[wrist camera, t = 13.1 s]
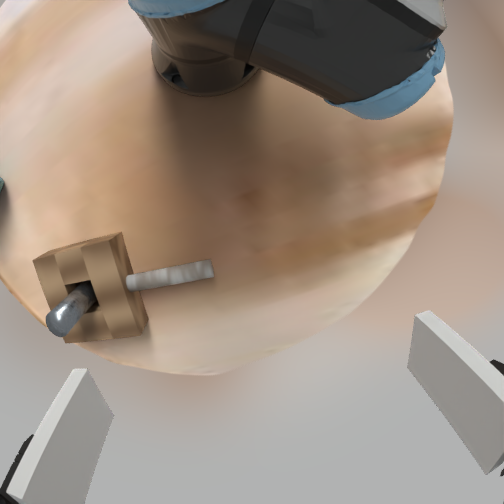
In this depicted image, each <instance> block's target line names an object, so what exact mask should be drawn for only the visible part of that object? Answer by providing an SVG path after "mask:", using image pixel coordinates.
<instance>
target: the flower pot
mask: <svg viewBox="0 0 504 504" xmlns="http://www.w3.org/2000/svg"><path fill="white" fill-rule="evenodd" d="M3 185H4V181H3V179H2V178H1V177H0V192H1V189H2V187H3Z"/></svg>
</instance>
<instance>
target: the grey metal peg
mask: <svg viewBox="0 0 504 504" xmlns="http://www.w3.org/2000/svg"><path fill="white" fill-rule="evenodd" d="M96 300H97V297H96V294H95V291H94V289H93V286H92V283H91V280H87V281H83V282H82V283H81V284H80V285H79V286H78V287H76V288H75V289H74V290H73V291H72V292H71V293H70V294H69V295H68V296H67V297H65V298H64V299H63V300H62V301H61V302H60V303H59V304H58V305H57V306H56V307H55V308H54V309H53V310H52V311H50V312H49V313H48V314H47V316H46V324H47V327H48V328H49V330H50V331H51V332H52V333H53V334H54V335H56V336H58V337H65V336H66V335H67V334H68V333H69V331H70V330H71V329H72V328H73V327H74V325H75V324H76V323H77V322H78V321H79V320H80V318H81V317H82V316H83V315H84V314H85V313H86V312H87V310H88V309H89V308H90V307H91V306H92V305H93V304H94V302H95V301H96Z"/></svg>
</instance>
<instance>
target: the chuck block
mask: <svg viewBox="0 0 504 504" xmlns="http://www.w3.org/2000/svg"><path fill="white" fill-rule="evenodd" d="M33 263H34V266H35V269H36V272H37V275H38V278H39V281H40V284H41V286H42V289H43V292H44V294H45V297H46V300H47V302H48V305H49V307H50V310H51V311H52V310H53V309H54V308H55V307H56V306H57V305H58V304H59V303H60V302H61V301H62V300H63V299H64V298H65V297H67V296H68V295H69V294H70V293H71V292H72V291H73V290H74V289H75V288H76V287H78V286H79V285H80V284H81V283H82V281H87V280H91V283H92V286H93V289H94V291H95V294H96V297H97V300H96V301H95V302H94V304H93V305H92V306H91V307H90V308H89V309H88V310H87V312H86V313H85V314H84V315H83V316H82V317H81V318H80V320H79V321H78V322H77V323H76V324H75V325H74V327H73V328H72V329H71V330H70V331H69V333H68V334H67V335H66V336H65V337H63V339H64V341H65V343H76V342H87V341H97V340H107V339H116V338H124V337H132V336H140V335H141V334H142V331H143V329H144V327H145V325H146V323H147V321H148V316H147V313H146V310H145V307H144V304H143V301H142V298H141V295H140V292H139V291H141V290H146V289H152V288H157V287H163V286H168V285H174V284H179V283H184V282H190V281H195V280H200V279H206V278H211V277H214V271H213V265H212V262H211V259H208V260H203V261H198V262H193V263H188V264H183V265H178V266H173V267H168V268H163V269H157V270H152V271H147V272H142V273H137V274H133V270H132V267H131V264H130V260H129V257H128V253H127V250H126V246H125V243H124V239H123V235H122V232H119V233H115V234H111V235H107V236H103V237H99V238H95V239H91V240H87V241H83V242H80V243H76V244H72V245H69V246H65V247H61V248H58V249H54V250H51V251H48V252H46V253H45V254H43V255H41V256H39V257H38V258H36V259H34V260H33Z"/></svg>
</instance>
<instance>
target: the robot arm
mask: <svg viewBox="0 0 504 504" xmlns="http://www.w3.org/2000/svg"><path fill="white" fill-rule="evenodd" d="M443 1H444V0H128V2H129V5H130V7H131V8H132V9H133V10H134V11H135V12H136V13H137V14H138V16H139V17H140V19H141V20H142V22H143V24H144V25H145V27H146V28H147V30H148V31H149V33H150V34H151V36H152V37H153V41H152V48H151V52H152V59H153V63H154V65H155V68H156V70H157V71H158V73H159V74H160V75H161V77H162V78H163V79H164V80H165V82H167V83H168V84H169V85H170V86H171V87H173V88H174V89H176V90H178V91H180V92H183V93H185V94H189V95H193V96H216V95H221V94H225V93H228V92H230V91H233V90H235V89H237V88H238V87H240V86H242V85H243V84H245V83H246V82H247V81H248V80H249V79H250V78H251V77H252V76H253V75H254V74H255V73H256V71H257V70H258V68H259V69H262V70H264V71H267V72H269V73H271V74H274V75H276V76H278V77H280V78H283V79H285V80H287V81H289V82H291V83H294V84H296V85H298V86H300V87H302V88H304V89H306V90H308V91H310V92H312V93H314V94H316V95H318V96H320V97H322V98H324V101H326V102H327V103H328V104H330V105H332V106H336V107H340V108H343V109H345V110H347V111H349V112H351V113H353V114H354V115H356V116H358V117H360V118H363V119H371V120H382V119H386V118H390V117H392V116H395V115H397V114H399V113H401V112H403V111H405V110H406V109H408V108H409V107H410V106H412V105H413V104H415V103H416V102H417V101H418V100H419V99H420V98H422V97H423V96H424V95H425V94H426V92H427V91H428V90H429V89H430V88H431V86H432V85H433V84H434V82H435V78H434V76H435V75H436V74H438V73H440V72H441V70H442V68H443V65H444V60H445V51H444V47H443V45H442V44H441V41H440V39H439V38H438V37H439V36H440V35H441V34H442V33H443V31H444V30H445V29H446V28H447V24H446V19H445V14H444V10H443ZM407 368H408V369H409V370H410V372H411V373H412V374H413V376H414V377H415V378H416V379H417V381H418V382H419V383H420V385H421V386H422V387H423V388H424V390H425V391H426V392H427V394H428V395H429V396H430V398H431V399H432V400H433V401H434V403H435V404H436V406H437V407H438V408H439V410H440V411H441V412H442V414H443V415H444V416H445V418H446V419H447V420H448V422H449V423H450V425H451V426H452V427H453V428H454V430H455V431H456V433H457V434H458V435H459V437H460V438H461V440H462V441H463V443H464V444H465V445H466V447H467V448H468V450H469V451H470V453H471V454H472V455H473V457H474V458H475V460H476V461H477V463H478V464H479V465H480V467H481V469H482V470H483V472H484V473H485V474H486V475H487V474H488V473H490V472H491V471H493V470H494V469H495V468H497V467H498V466H499V465H501V464H502V463H503V461H504V364H503V363H501V362H498V361H496V360H492V361H490V362H489V361H487V360H486V359H485V358H484V357H483V356H482V355H481V354H480V353H479V352H478V351H476V350H475V349H474V348H473V347H472V346H471V345H470V344H469V343H468V342H466V341H465V340H464V339H463V338H462V337H461V336H460V335H458V334H457V333H456V332H455V331H454V330H453V329H451V328H450V327H449V326H448V325H447V324H446V323H444V322H443V321H442V320H441V319H440V318H439V317H437V316H436V315H435V314H434V313H433V312H431V311H430V310H428V311H425V312H422V313H419V314H416V315H415V319H414V327H413V334H412V342H411V348H410V354H409V360H408V366H407ZM113 417H114V414H113V413H112V411H111V410H110V408H109V406H108V404H107V403H106V401H105V399H104V398H103V396H102V394H101V393H100V391H99V389H98V387H97V385H96V383H95V381H94V380H93V378H92V376H91V374H90V372H89V370H88V369H73V370H72V372H71V374H70V376H69V377H68V379H67V380H66V382H65V383H64V385H63V386H62V388H61V390H60V391H59V393H58V395H57V396H56V398H55V400H54V401H53V403H52V405H51V406H50V408H49V410H48V412H47V413H46V415H45V417H44V419H43V420H42V422H41V424H40V426H39V427H38V429H37V431H36V433H35V435H31V436H30V437H29V438H28V439H27V440H26V441H25V442H24V443H23V445H22V447H21V449H20V450H19V452H18V453H19V454H18V455H17V456H16V458H15V462H13V464H12V466H11V468H10V470H9V472H8V474H7V476H6V478H5V480H4V482H3V484H2V487H1V488H0V504H84V503H85V499H86V496H87V493H88V490H89V486H90V483H91V480H92V477H93V474H94V471H95V467H96V465H97V461H98V459H99V455H100V453H101V450H102V447H103V444H104V441H105V438H106V436H107V433H108V430H109V427H110V425H111V422H112V419H113ZM503 475H504V469H503V470H502V472H501V475H500V476H503Z"/></svg>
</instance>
